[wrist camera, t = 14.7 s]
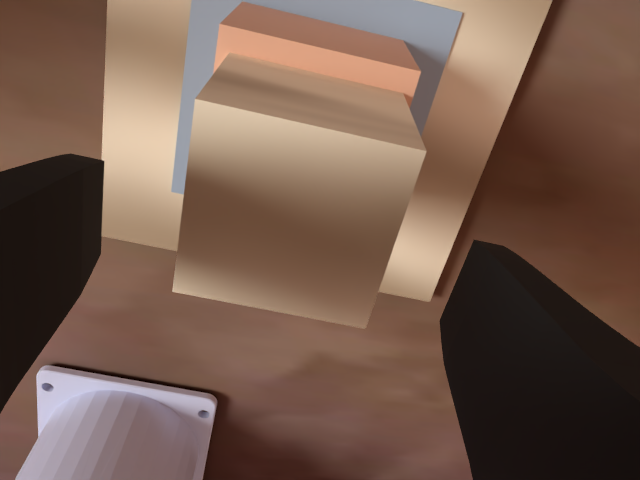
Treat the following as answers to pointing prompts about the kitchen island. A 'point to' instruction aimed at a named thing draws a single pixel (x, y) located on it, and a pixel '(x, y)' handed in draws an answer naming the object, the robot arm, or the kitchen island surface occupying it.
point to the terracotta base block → (318, 48)
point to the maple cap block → (294, 190)
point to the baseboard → (339, 8)
